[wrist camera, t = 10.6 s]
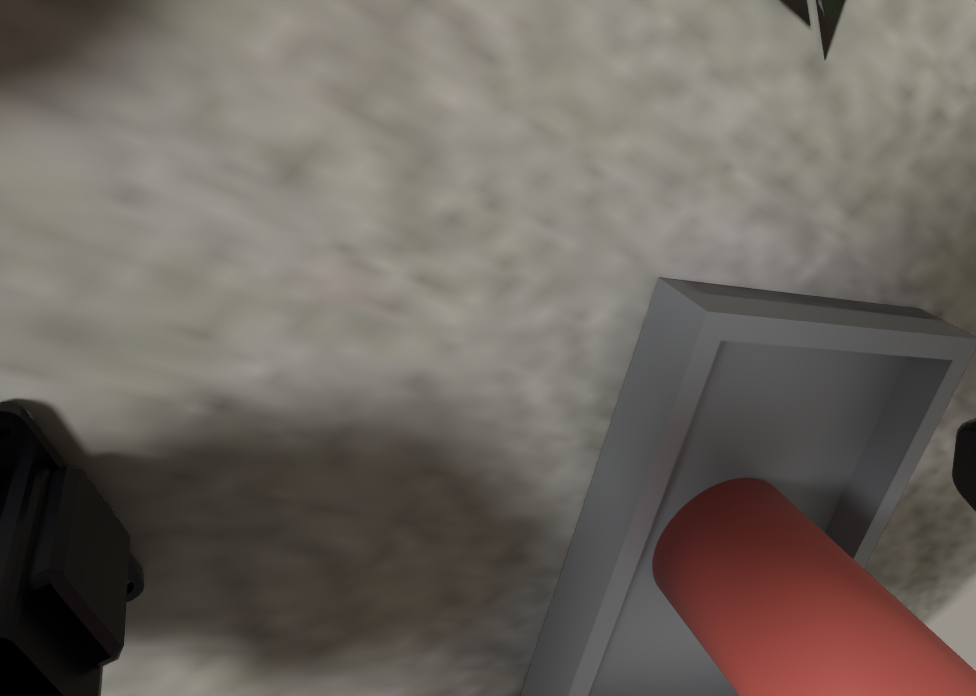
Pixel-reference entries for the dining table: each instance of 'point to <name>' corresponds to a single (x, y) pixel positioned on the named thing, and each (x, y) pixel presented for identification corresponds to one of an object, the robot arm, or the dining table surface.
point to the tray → (737, 460)
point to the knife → (821, 17)
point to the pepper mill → (793, 604)
